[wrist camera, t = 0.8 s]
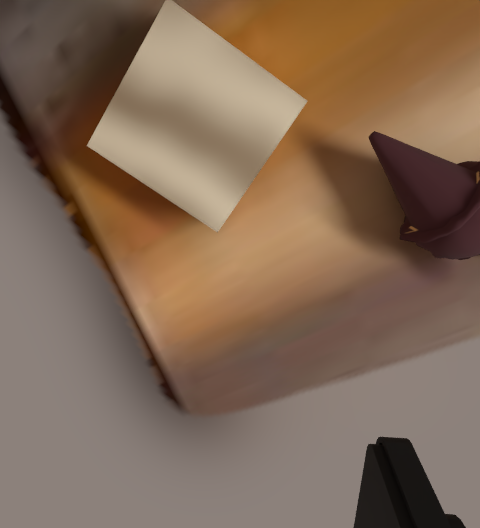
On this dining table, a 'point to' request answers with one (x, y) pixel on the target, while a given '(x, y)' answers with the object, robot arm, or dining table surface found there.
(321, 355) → the dining table surface
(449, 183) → the icecream
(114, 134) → the base
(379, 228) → the dining table surface
